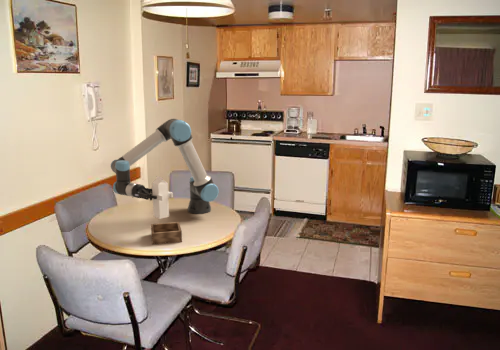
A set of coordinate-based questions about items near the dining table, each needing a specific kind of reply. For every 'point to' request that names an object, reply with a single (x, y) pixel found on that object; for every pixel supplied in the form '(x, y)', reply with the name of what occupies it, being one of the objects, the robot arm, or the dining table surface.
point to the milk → (159, 206)
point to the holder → (166, 233)
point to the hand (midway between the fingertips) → (167, 196)
